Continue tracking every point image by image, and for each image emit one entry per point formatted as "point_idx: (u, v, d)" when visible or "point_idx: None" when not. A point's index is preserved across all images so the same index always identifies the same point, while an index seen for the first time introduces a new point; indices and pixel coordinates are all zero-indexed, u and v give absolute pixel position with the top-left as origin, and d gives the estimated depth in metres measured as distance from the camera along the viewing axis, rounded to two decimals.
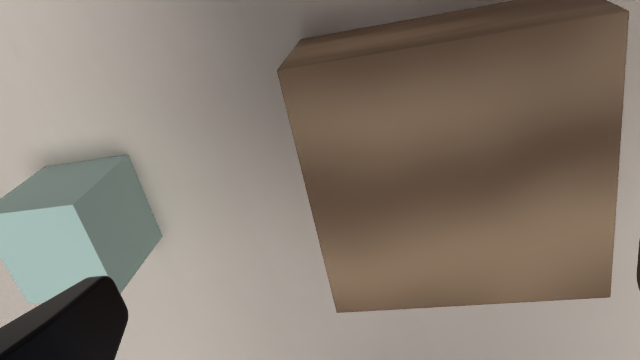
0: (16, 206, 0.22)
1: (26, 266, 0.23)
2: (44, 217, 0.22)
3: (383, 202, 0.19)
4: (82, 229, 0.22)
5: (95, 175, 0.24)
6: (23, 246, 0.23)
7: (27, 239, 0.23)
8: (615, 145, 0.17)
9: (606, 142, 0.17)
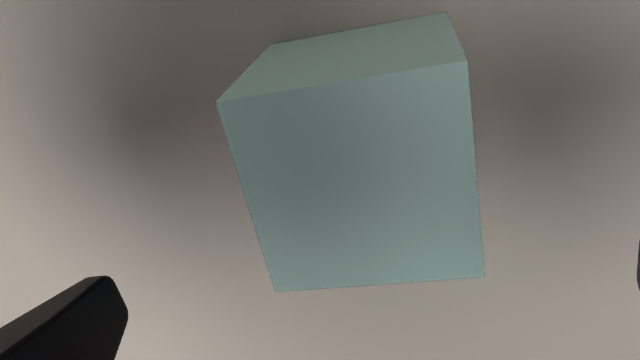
0: (303, 81, 0.10)
1: (297, 213, 0.11)
2: (382, 97, 0.10)
3: None
4: (465, 124, 0.10)
5: (426, 33, 0.12)
6: (305, 171, 0.11)
7: (320, 153, 0.11)
8: None
9: None
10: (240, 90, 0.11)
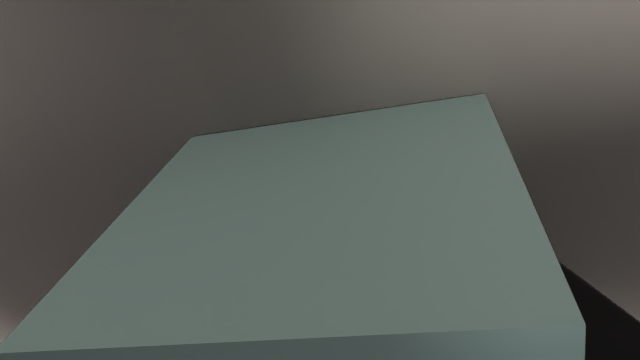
0: (189, 307, 0.05)
1: None
2: None
3: None
4: None
5: (456, 160, 0.06)
6: None
7: None
8: None
9: None
10: (63, 309, 0.05)
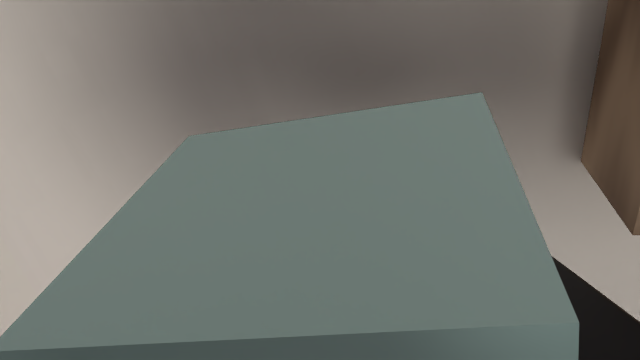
0: (185, 305, 0.05)
1: None
2: None
3: None
4: None
5: (453, 159, 0.06)
6: None
7: None
8: None
9: None
10: (58, 307, 0.05)
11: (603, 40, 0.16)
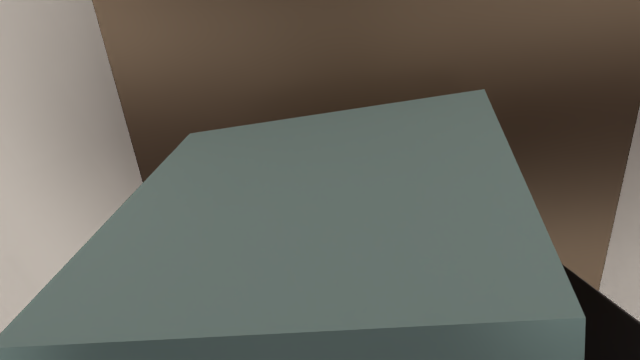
0: (186, 301, 0.05)
1: None
2: None
3: None
4: None
5: (456, 155, 0.06)
6: None
7: None
8: (627, 125, 0.10)
9: (613, 118, 0.10)
10: (59, 304, 0.05)
11: None
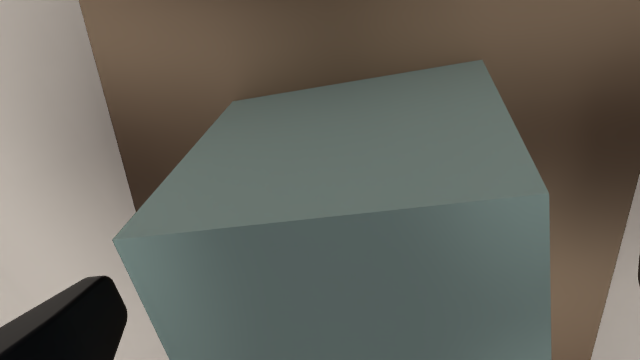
0: (260, 204, 0.06)
1: None
2: (392, 244, 0.06)
3: None
4: (537, 291, 0.06)
5: (458, 105, 0.08)
6: (265, 342, 0.07)
7: (290, 320, 0.06)
8: (638, 145, 0.10)
9: (624, 138, 0.10)
10: (159, 212, 0.07)
11: None
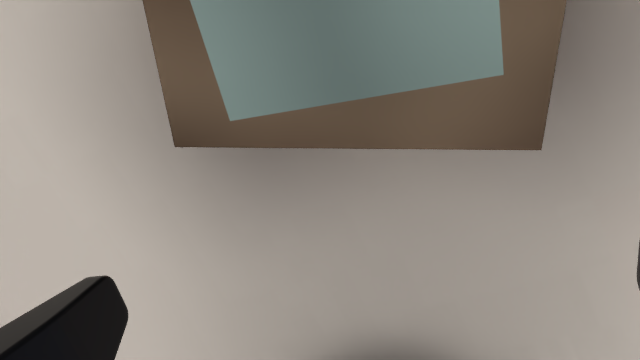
0: None
1: None
2: None
3: None
4: None
5: None
6: None
7: None
8: None
9: None
10: None
11: None
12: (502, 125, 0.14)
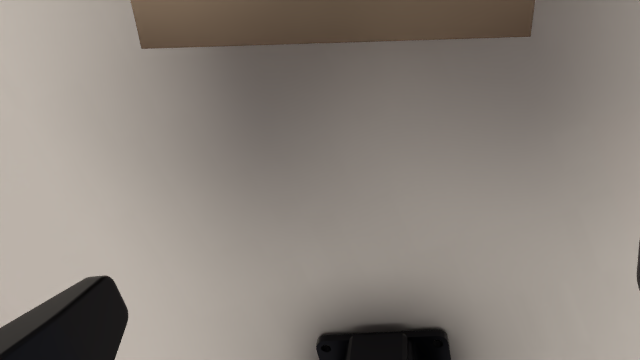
0: None
1: None
2: None
3: None
4: None
5: None
6: None
7: None
8: None
9: None
10: None
11: None
12: (488, 8, 0.13)
